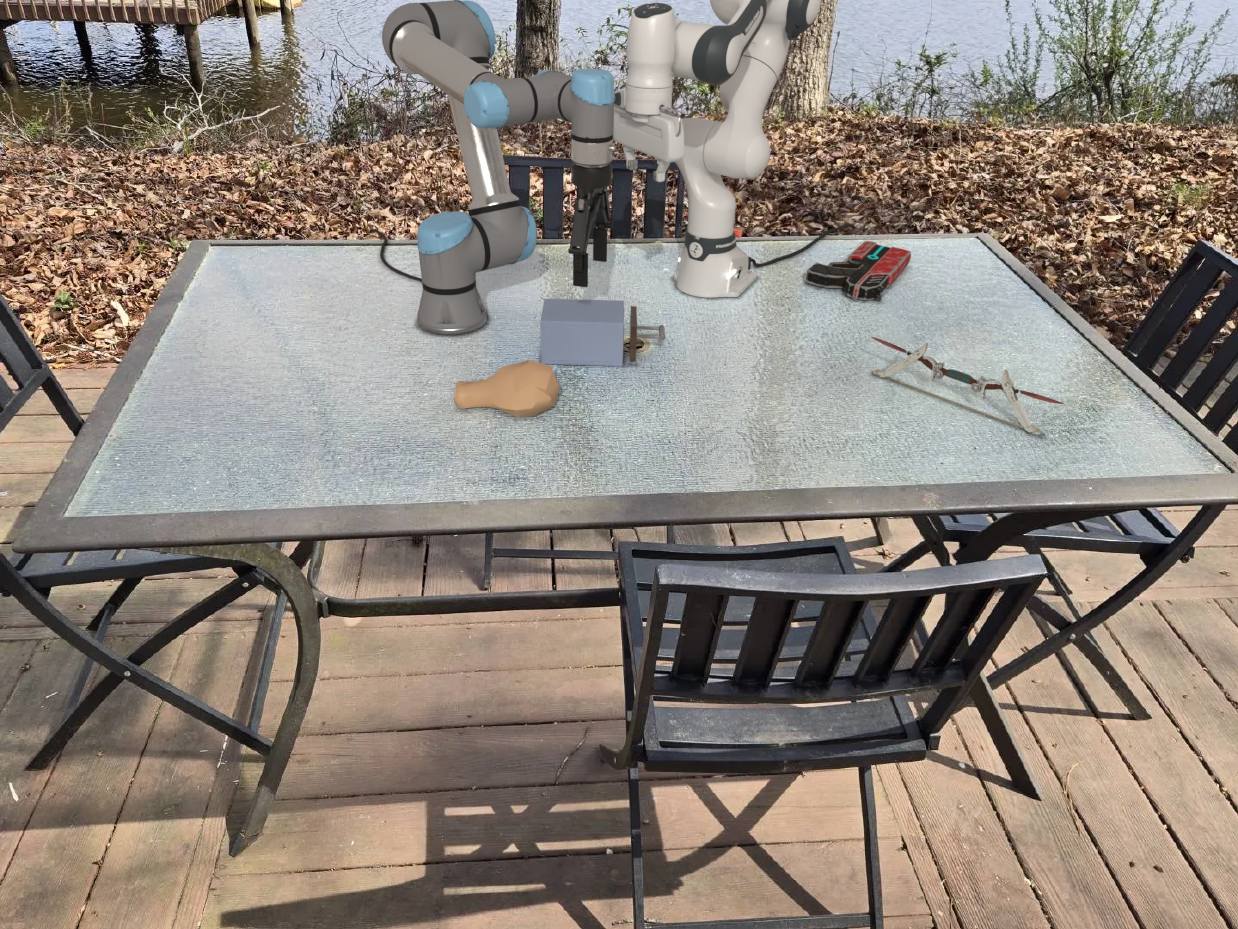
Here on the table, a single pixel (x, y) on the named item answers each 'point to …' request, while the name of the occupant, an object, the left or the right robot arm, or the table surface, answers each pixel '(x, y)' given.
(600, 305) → the cabinet
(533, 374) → the squash
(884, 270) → the gun
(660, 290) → the table surface
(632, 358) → the drawer
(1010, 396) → the bow
